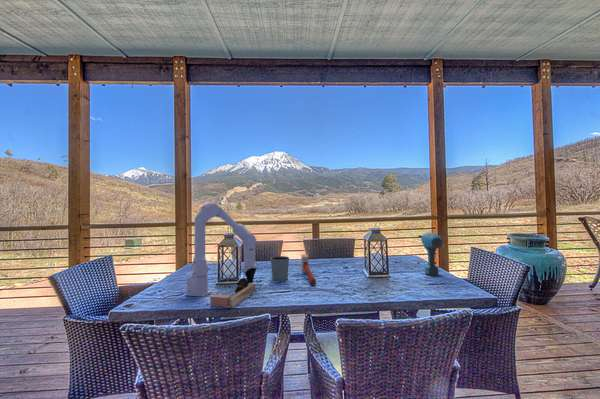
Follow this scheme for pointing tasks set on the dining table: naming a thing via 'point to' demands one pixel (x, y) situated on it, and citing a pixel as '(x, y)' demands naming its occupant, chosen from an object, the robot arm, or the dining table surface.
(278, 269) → the grey green pot
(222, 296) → the stop block
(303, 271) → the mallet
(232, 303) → the fence rail
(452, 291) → the dining table surface
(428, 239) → the power drill
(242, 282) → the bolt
